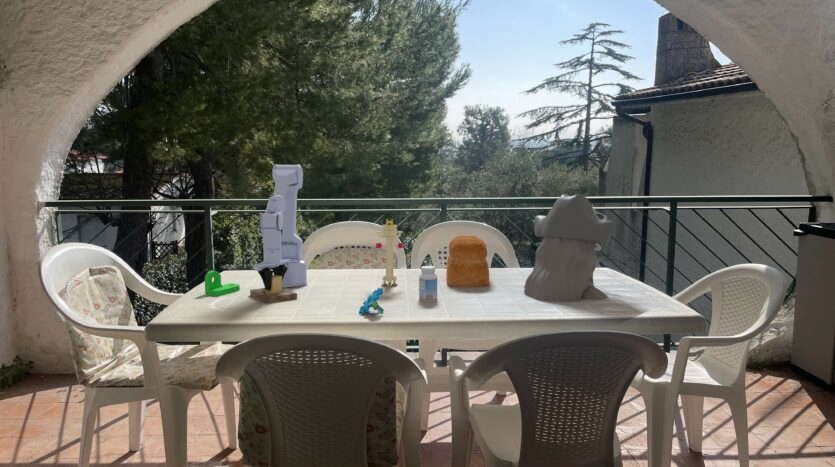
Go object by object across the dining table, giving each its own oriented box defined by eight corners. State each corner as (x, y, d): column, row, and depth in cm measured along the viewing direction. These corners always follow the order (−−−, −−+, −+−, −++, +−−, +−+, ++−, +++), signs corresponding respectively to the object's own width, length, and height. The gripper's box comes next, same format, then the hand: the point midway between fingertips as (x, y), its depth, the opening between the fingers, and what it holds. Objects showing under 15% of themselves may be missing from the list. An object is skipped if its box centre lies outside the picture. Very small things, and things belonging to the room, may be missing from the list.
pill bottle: (439, 299, 199) (439, 266, 198) (434, 303, 194) (434, 269, 192) (422, 297, 201) (422, 264, 200) (416, 301, 196) (416, 267, 194)
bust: (631, 294, 208) (636, 194, 204) (586, 312, 183) (591, 198, 179) (546, 281, 231) (549, 190, 226) (495, 295, 206) (497, 194, 202)
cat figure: (375, 287, 217) (375, 219, 214) (376, 282, 225) (376, 217, 222) (403, 287, 217) (403, 219, 214) (403, 282, 226) (403, 217, 223)
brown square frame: (281, 291, 209) (280, 286, 209) (297, 299, 198) (297, 293, 198) (250, 295, 203) (250, 289, 203) (265, 303, 192) (265, 297, 191)
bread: (447, 288, 216) (447, 241, 214) (445, 275, 242) (446, 233, 240) (490, 289, 216) (491, 242, 214) (484, 275, 242) (485, 233, 240)
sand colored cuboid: (274, 295, 203) (273, 274, 202) (282, 296, 201) (281, 276, 200) (265, 297, 200) (264, 276, 199) (273, 298, 197) (272, 277, 197)
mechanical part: (218, 296, 202) (217, 273, 201) (205, 295, 204) (204, 272, 204) (243, 290, 212) (242, 268, 211) (230, 288, 215) (230, 266, 214)
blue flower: (356, 306, 184) (378, 282, 185) (370, 318, 186) (392, 295, 186) (358, 315, 174) (381, 290, 174) (373, 328, 175) (396, 303, 175)
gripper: (280, 245, 207) (281, 283, 208) (246, 250, 195) (248, 291, 196) (294, 247, 203) (295, 286, 204) (261, 252, 191) (262, 293, 192)
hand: (273, 288), depth 200 cm, fingers closed on sand colored cuboid, 4 cm apart
